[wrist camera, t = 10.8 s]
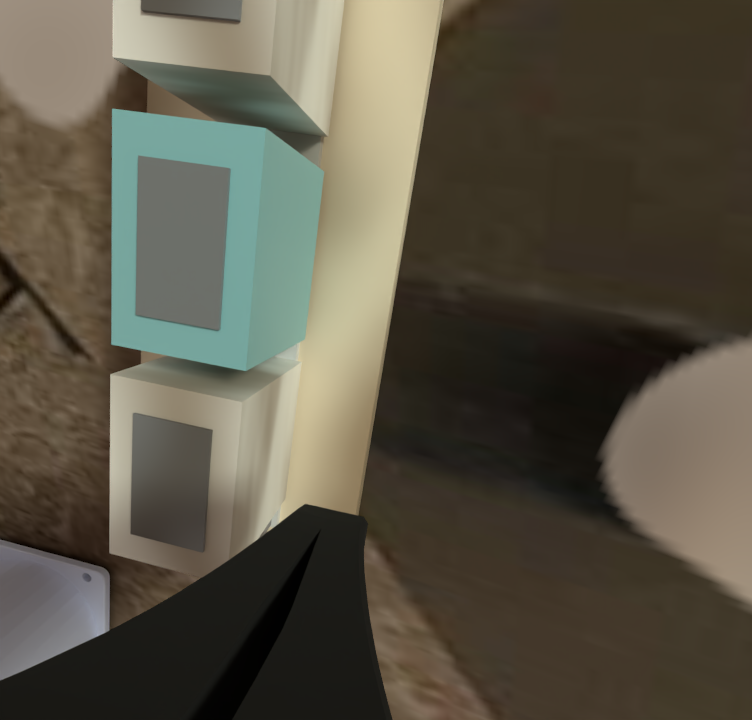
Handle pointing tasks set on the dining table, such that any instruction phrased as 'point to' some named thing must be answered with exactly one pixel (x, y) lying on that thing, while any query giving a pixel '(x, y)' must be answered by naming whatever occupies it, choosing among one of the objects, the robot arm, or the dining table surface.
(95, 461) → the dining table surface
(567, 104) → the dining table surface
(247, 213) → the teal module
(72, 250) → the dining table surface
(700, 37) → the dining table surface
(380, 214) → the board
